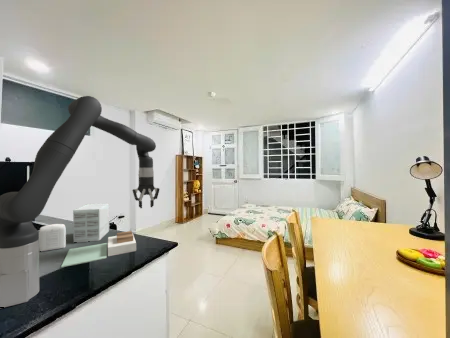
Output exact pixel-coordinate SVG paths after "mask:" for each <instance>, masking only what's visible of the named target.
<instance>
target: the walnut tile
mask: <svg viewBox="0 0 450 338" xmlns="http://www.w3.org/2000/svg"><path fill="white" fill-rule="evenodd" d="M132 233H133V232H132V230H129V231H123V232H116V236H117V244H118V243H124V242H129V241H133V235H134V233H133V234H132Z"/></svg>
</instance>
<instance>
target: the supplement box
mask: <svg viewBox="0 0 450 338" xmlns="http://www.w3.org/2000/svg"><path fill="white" fill-rule="evenodd" d="M72 211H73V212H72V214H73V215H72V217H73V219H72V220H73V223H72V224H73V225H72V226H73V227H72V229H73V243H74V242H77V243H87V242H88V241H90V242H99V241H100V240H102V239H103V238H104V237H105V236H106V235H107V234H108V233H109V232H110V204H109V203H92V204H91V203H89V204H88V203H87V204H85V205H82V206H80V207H78V208H76V209H73V210H72ZM88 243H89V242H88Z"/></svg>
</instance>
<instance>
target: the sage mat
mask: <svg viewBox="0 0 450 338" xmlns="http://www.w3.org/2000/svg"><path fill="white" fill-rule="evenodd" d="M107 257H108V242H105V243H98V244H93V245H86V246H80V247H74V248H69V249H68V251H67V253H66V255H65V258H64V259H63V262H62V264H61V266H60V267H61V268H65V267H70V266H76V265H80V264H86V263H90V262H96V261H101V260H104V259H107Z"/></svg>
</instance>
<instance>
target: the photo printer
mask: <svg viewBox="0 0 450 338" xmlns="http://www.w3.org/2000/svg"><path fill="white" fill-rule="evenodd" d="M66 230H67V229H66V225H65V224H63V223H53V224H48V225H43V226H41V227H40V228H39V231H38V232H39V252H40V251H41V252H46V251H53V250H59V249H63V248H66V245H67V241H66V240H67V238H66V237H67V231H66Z"/></svg>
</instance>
